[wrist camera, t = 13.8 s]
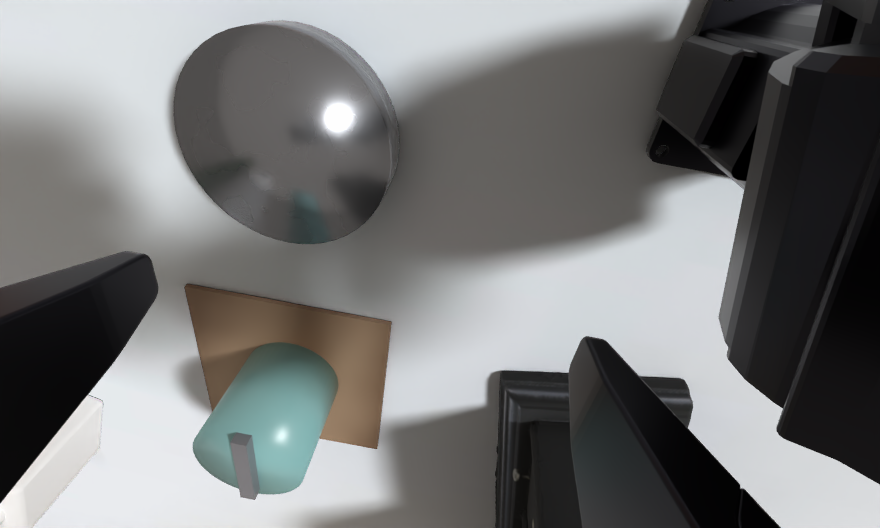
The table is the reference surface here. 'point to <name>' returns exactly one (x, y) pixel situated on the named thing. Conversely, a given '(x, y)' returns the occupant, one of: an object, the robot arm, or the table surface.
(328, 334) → the walnut board
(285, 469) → the teal cap
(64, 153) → the table surface
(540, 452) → the black drawer cabinet
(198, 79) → the silver metal disc
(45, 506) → the medicine bottle
